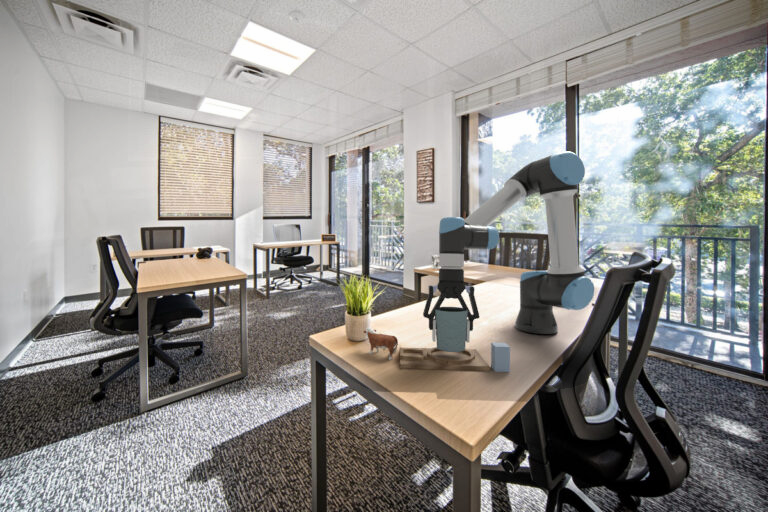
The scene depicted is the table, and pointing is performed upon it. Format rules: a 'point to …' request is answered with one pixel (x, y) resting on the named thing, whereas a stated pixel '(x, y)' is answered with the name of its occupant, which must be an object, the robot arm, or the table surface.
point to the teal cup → (451, 328)
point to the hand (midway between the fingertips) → (450, 340)
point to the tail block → (500, 357)
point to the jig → (441, 359)
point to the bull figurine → (381, 341)
